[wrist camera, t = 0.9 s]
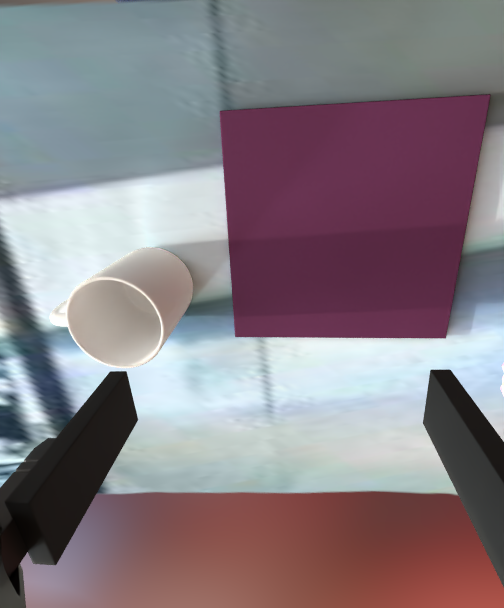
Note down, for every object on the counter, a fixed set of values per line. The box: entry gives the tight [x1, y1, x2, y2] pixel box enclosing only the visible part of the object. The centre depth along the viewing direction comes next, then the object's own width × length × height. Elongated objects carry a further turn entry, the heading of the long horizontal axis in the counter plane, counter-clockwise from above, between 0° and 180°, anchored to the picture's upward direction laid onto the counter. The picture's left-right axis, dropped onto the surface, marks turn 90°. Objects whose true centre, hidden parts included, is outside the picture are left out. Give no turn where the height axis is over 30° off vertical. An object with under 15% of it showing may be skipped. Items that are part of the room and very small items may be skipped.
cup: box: [50, 247, 193, 368], centre depth 34 cm, size 8×12×10 cm
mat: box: [220, 94, 490, 338], centre depth 34 cm, size 22×22×1 cm
